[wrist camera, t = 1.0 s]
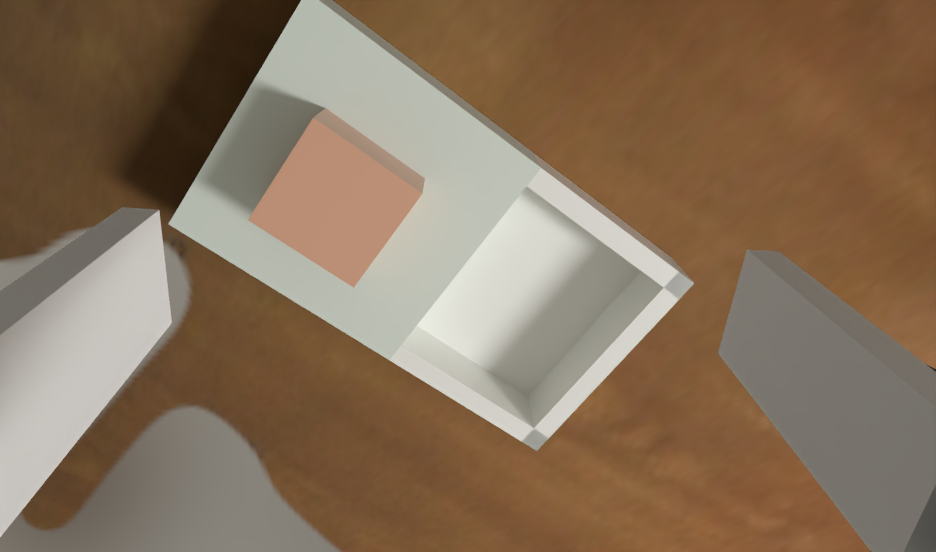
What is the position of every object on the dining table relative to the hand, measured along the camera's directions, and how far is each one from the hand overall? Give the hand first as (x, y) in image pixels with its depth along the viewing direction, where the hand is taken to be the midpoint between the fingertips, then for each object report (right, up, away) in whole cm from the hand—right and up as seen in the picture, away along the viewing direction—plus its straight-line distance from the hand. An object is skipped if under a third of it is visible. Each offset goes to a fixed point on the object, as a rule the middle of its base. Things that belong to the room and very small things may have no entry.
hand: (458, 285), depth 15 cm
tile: (-6, +5, +19) cm, 20 cm away
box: (+4, -1, +26) cm, 26 cm away
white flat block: (-6, +6, +23) cm, 24 cm away
